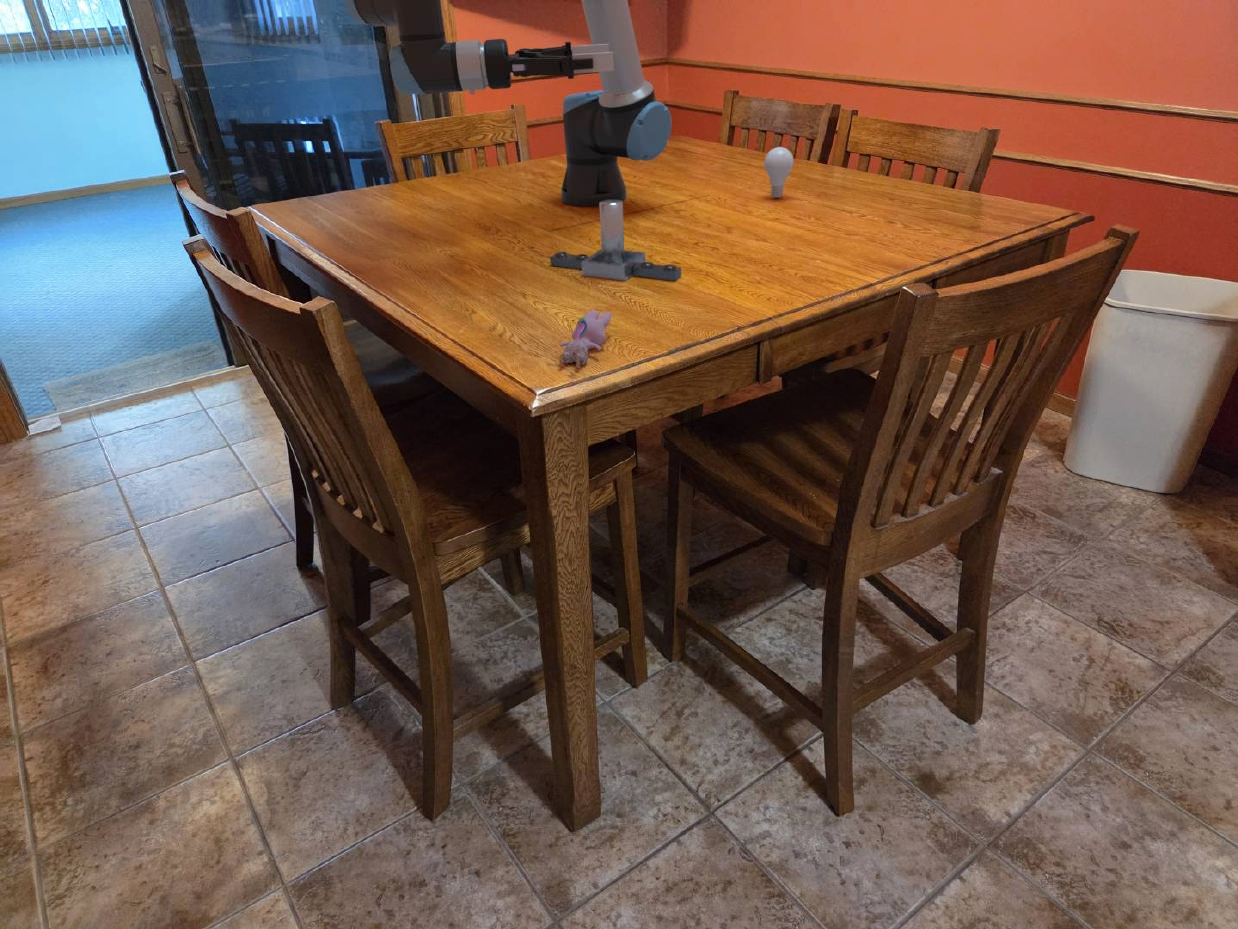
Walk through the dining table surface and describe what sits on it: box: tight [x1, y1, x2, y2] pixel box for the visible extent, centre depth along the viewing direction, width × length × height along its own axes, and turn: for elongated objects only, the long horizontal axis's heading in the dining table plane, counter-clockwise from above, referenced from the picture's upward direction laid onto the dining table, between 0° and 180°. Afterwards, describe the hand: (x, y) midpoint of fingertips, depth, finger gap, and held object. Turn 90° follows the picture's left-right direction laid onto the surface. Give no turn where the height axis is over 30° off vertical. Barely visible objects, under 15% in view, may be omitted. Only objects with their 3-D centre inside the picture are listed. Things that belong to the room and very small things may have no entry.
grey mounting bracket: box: [549, 248, 682, 282], centre depth 144 cm, size 25×8×2 cm, turn 63°
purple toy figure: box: [558, 310, 612, 371], centre depth 115 cm, size 6×6×15 cm
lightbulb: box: [764, 146, 794, 200], centre depth 181 cm, size 6×6×11 cm
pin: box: [598, 200, 625, 264], centre depth 142 cm, size 4×4×12 cm
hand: (611, 56), depth 137 cm, fingers open, 13 cm apart
